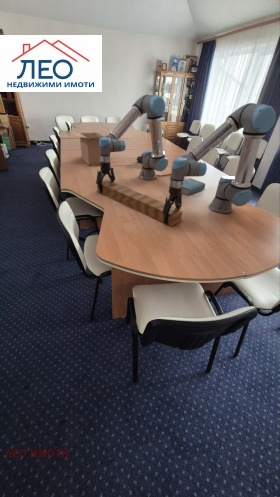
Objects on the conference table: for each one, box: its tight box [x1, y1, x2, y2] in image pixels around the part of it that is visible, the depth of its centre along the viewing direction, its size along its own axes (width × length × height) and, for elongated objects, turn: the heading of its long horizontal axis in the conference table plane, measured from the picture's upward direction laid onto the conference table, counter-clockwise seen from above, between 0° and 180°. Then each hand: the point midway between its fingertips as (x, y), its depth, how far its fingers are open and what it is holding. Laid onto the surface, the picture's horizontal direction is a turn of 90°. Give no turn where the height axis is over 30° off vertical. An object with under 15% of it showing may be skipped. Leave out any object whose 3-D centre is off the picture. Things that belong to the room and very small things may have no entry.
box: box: [70, 129, 110, 166], centre depth 229 cm, size 44×36×27 cm
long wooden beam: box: [96, 178, 183, 227], centre depth 155 cm, size 72×10×7 cm, turn 48°
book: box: [181, 177, 206, 196], centre depth 186 cm, size 23×16×5 cm
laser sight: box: [136, 153, 143, 164], centre depth 240 cm, size 10×22×10 cm, turn 78°
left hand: (106, 190), depth 173 cm, fingers closed on long wooden beam, 10 cm apart
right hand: (170, 220), depth 141 cm, fingers closed on long wooden beam, 10 cm apart
